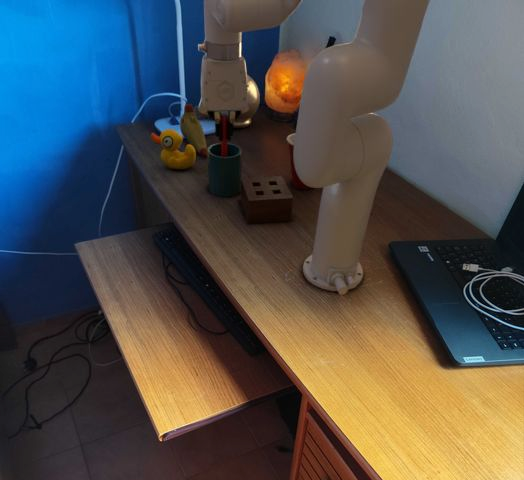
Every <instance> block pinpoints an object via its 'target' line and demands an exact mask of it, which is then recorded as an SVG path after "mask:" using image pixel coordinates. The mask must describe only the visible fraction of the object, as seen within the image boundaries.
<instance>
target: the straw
mask: <svg viewBox="0 0 524 480" xmlns="http://www.w3.org/2000/svg"><path fill="white" fill-rule="evenodd" d="M220 119H221V122H222V128H223V141H220V143H221V146H222V157H227V143H228V140H227V114H221V113H220Z"/></svg>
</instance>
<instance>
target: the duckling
mask: <svg viewBox="0 0 524 480" xmlns="http://www.w3.org/2000/svg"><path fill="white" fill-rule="evenodd" d="M150 137H151V140H152V141H153V143H154V144H155V145H157V146H162V147H163V149H162V150H161V153H160V158H161V161H162V163H163V164H164V165H165V166H167V167H168V168H169V169H172V170H185V169H188V168H190V167H192V166H193V165H194V164H195V162H196V158H197V157H196V156H197V155H196V154H197V151H196V150H195V148H194V147H193V146H192V145H191V144H190V143H189V144H187V145H186V146H185V148H184V151H180V150H179V148H180V147H181V145H182V143H183V141H184V136H183V135H181V134H180V133H179V132H178V131H176V130H175V129H173V128H166V129H164V130H163V131H161V133H160V135H157V134H155V133H154V132H151V134H150Z"/></svg>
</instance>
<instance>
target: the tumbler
mask: <svg viewBox="0 0 524 480" xmlns="http://www.w3.org/2000/svg"><path fill="white" fill-rule="evenodd" d="M242 158H243V149H242V148H241V146H239V145H238V144H234V143H231V142H227V157H222V146H221V142H217V143H213V144H211V145H209V146H208V147H207V174H208V175H207V177H208V190H209V192H210V193H211V194H213V195H215V196H218V197H228V198H229V197H234V196H236V195H239V194H240V193H241V179H242V171H243V170H242V169H243V165H242V164H243V163H242V162H243V161H242V160H243V159H242Z"/></svg>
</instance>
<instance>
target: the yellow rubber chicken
mask: <svg viewBox="0 0 524 480" xmlns="http://www.w3.org/2000/svg"><path fill="white" fill-rule="evenodd" d="M179 128H180V132H181V134H183V135H182V137H183V138H184V139H186V141H187V142H188V143H189V144H190V145H192V146H193V147H194V148H195V151H196V153H198V154H199V155H201V156H203V157H208V152H207V151H208V146H207V141H206V136H205V132H204V130H203V127H202V124H201V123H200V121H199V119H198V117H197V115H196V112H195V109H194V107H193V105H192V104H191V103H186V104H184V109H183V113H182V116H181V117H180V121H179Z"/></svg>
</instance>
